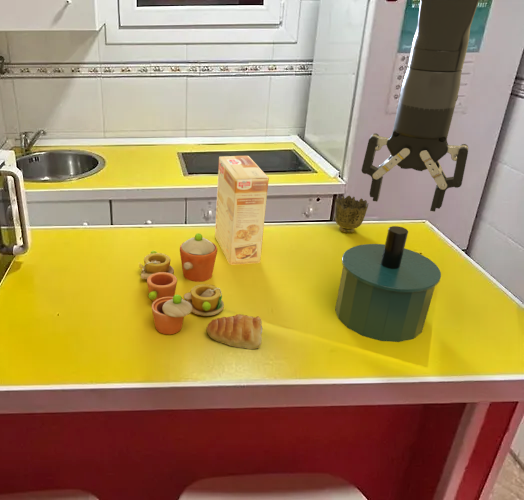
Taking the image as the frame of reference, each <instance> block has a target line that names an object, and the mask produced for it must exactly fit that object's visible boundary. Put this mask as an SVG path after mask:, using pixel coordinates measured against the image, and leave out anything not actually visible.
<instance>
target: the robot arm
mask: <svg viewBox="0 0 524 500" xmlns="http://www.w3.org/2000/svg"><path fill="white" fill-rule="evenodd" d="M479 1H480V0H420V2H419V11H418V16H417V25H416V30H415V33H414V36H413V40H412V43H411V47H410V53H409V58H408V63H407V67H406V71H405V74H404V77H403V80H402V84H401V88H400V93H399V98H398V103H397V108H396V112H395V118H394V123H393V128H392V133H391V135H390V136H389V137H386V136H380V135H379V134H378V133H376V132H375V133H372V134H371V135H370V137H369V139H368V141H367V146H366V150H365V154H364V158H363V162H362V166H361V173H362V174H364V175H368V176H369V177H371V183H370V189H369V197H370V198H372V202H375V203H377V202H378V201H379V199H380V194H381V189H382V185H383V179H384V175H386V174H387V173H388V172H390V171H391V170H392V169H393V168H395V166H398V168H399V167H400V169H403V170H409V169H412V170H414V171H418V172H423V171H426V170H427V171H428V172H429V174H430V176H431V178H432V179H433V180H434V182H435V183H436V185H435V189H434V194H433V198H432V201H431V204H430V212H436V210H437V209H441V207H442V206H443V202H444V198H445V195H446V191H447V190H448V189H450V188H456V189H458V188H460V187H462V184H463V180H464V175H465V169H466V164H467V161H468V160H467V159H468V156H469V155H468V154H469V145H468V144H466V143H461V144H460V145H455V144H449V143H448V136H449V132H450V128H451V123H452V121H453V117H454V112H455V108H456V105H457V101H458V99H459V98H458V97H459V92H460V87H461V78H462V72H463V68H464V63H465V59H466V56H467V52H468V47H469V42H470V35H471V34H470V33H471V27H472V24H473V21H474V17H475V14H476V11H477V8H478V5H479ZM383 146H386V148H387V150H388V151H389V153H390V156H388V158H386V159H385V160H384V161H383V162H382V163H381V164H379V166H378V167H377V166H375V165H373V164H374V161H375V156H376V153H377V152H379V151H380V150H381V149H382V147H383ZM447 154H449V155H450V158H451V160H452V161H453V162H455V167H454V173H453V176H447V175H446V173H445V172H444V170H443V167H442V165H441V163H440V161H439V160H441V159H442V158H443V157H444V156H446V155H447Z"/></svg>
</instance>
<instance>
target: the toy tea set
mask: <svg viewBox="0 0 524 500" xmlns="http://www.w3.org/2000/svg"><path fill="white" fill-rule="evenodd" d="M217 254H218V247H217V245H216V244H215V243H214V242H212V241H211V240H209V239H207V238H206V237H203V235H202V234H201V232H199V233H196V234H195V235H194V236H193V237H191V238H188V239H186V240H185V241H184V242H182V243H181V245H180V246H179V255H180V261H181V269H182V275H183V277H184V278H185V279H186V280H188V281H190V282H195V283H201V282H207V281H208V280H210V279H211V278H212V277H213V273H214V268H215V263H216V259H217V256H218V255H217ZM143 263H144V265H143V264H142V263H141V262H139V261H138V268H139V269H140V279H142V280H146V285H147V290H148V298H149V300H151V301H152V303H151V312H152V316H153V323H154V327H155V329H156V331H157V332H158V333H160V334H163V335H174V334H175V335H176V334H177V333H179V332H180V331H181V330H182V328H183V323H184V319H185V318H184V317H187V316H188V315H190V314H191V313H193V314H195V315H198V316H202V317H211V316H216V315H218V314H220V313H221V312H222V311H223V310H224V307H225V305H224V301H223V300H222V298H223V295H222V294H223V293H222V290H221V288H220V287H217V286H215V285H212V284H207V283H203V284H197V285H195V286H193V287H192V288H191V289H190V292H186V293H184V294H183V298H182V296H181V295H180V294H176V289H177V284H178V278H177V277H176V275H175V274H174V273H175V269H174V267H173V266H171V257H170V256H169V255H167V254H165V253H162V252H157V250H152V251H150V253H149V254H146V255H145V256H144V258H143Z"/></svg>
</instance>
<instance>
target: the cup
mask: <svg viewBox="0 0 524 500" xmlns="http://www.w3.org/2000/svg"><path fill="white" fill-rule="evenodd" d="M368 207H369V203H368V201H367V199H365V200H364V199H363V198H362V197H361V198H360V199H359V200H358V199H356V198H355V196H351V195H347V196H346V197H345V196H344V195H343V196H341V197H340V196H338V197H336V198H335V199H334V219H335V220H334V221H335V223H336V224H337V225H338V226H339V227H338V231H339V232H341V233H343V234H347V235H348V234H350V235H351V234H353V233H355V232H356V229H357V228H359V227H360V226H362V223H363V222H364V221H365V220H364V219H365V217H366V214H367V211H368V209H369V208H368Z"/></svg>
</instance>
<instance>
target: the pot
mask: <svg viewBox="0 0 524 500" xmlns="http://www.w3.org/2000/svg"><path fill="white" fill-rule="evenodd" d="M435 287H436V286H435ZM435 287H433V288H431V289H429V290H425V291H420V292H396V291H389V290H384V289H380V288H377V287H374V286H371V285H368V284H366V283H363V282H361V281H359V280H358V279H356V278H354V277H353V276H351V275H350V274H349V273H348V272H347V271H346V270H345V269H344V267H343V266H342V269H341V275H340V281H339V287H338V293H337V297H336V303H335V309H334V310H335V313H336V316H337V319H338V320H339V321H340V322H341V323H342V324H343V325H344V326H345V327H346V328H347V329H349V330H350V331H353V332H354V333H357V334H358V335H360V336H362V337H365V338H369V339H372V340H376V341H380V342H391V343H401V342H406V341H411V340H414V339H415V338H417V337H418V336H419V335H421V334H422V333H423V331H424V327H425V323H426V320H427V316H428V312H429V308H430V307H431V306H430V305H431V302H432V298H433V295H434V292H435Z"/></svg>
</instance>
